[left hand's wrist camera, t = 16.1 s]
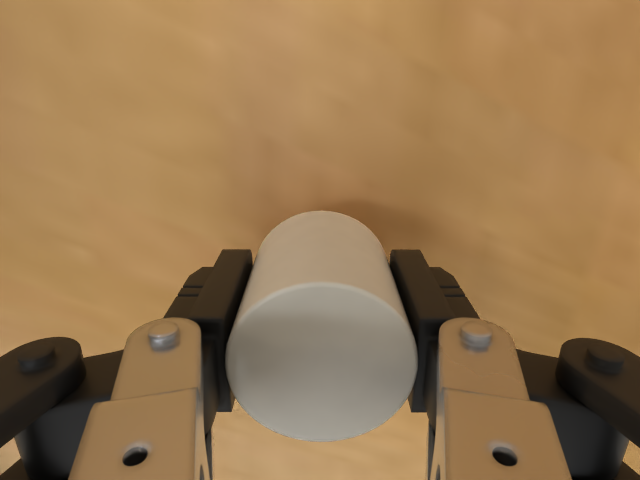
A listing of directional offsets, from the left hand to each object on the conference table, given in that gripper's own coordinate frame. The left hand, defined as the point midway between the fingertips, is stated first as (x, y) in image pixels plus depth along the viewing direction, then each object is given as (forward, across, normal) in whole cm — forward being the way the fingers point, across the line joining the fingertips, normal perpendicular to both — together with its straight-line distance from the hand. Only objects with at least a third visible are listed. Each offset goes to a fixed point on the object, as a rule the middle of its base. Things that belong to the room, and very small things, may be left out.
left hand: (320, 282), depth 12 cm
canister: (+1, 0, 0) cm, 1 cm away
